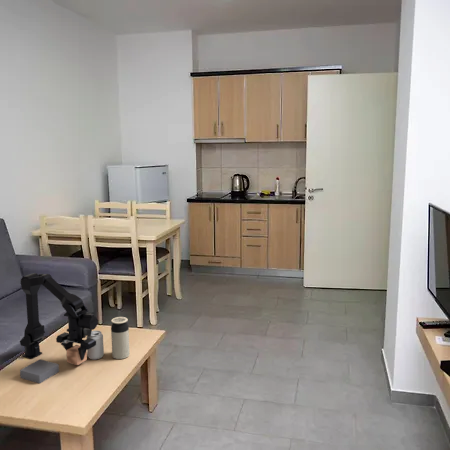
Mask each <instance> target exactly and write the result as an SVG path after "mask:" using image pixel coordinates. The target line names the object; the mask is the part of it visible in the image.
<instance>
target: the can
mask: <svg viewBox="0 0 450 450" xmlns="http://www.w3.org/2000/svg"><path fill="white" fill-rule="evenodd" d="M88 338H91V339H95V340H96V345H95V346H94V347H92V348H90V349H88V350H87V358H89V360H100V359H102V357H104V355H105V350H104V346H105V345H104V335H103V333H102V331H101V330H95V329H94V330H92V332H91V336H86V339H88Z"/></svg>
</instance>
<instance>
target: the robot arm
mask: <svg viewBox="0 0 450 450" xmlns="http://www.w3.org/2000/svg"><path fill="white" fill-rule="evenodd" d="M41 285H42V286H44V288H45V289H47V291H49V292H50V293H51V294H52V295H53V296H54V297H55V298H57V299H58V300H59V301H60V304H61V307H62V308H63V309H64V311H66V312H65V313H64V314H63V317H67V320H68V322H67V323H68V324H67V325H68V327H67V328H66V332H65V331H64V332H62V333H61V334H58V335H57V336H56V338H55V339H56V343H59V344H60V345H61V346H62V347H63V348H64V349H65V351H66V352H67V349H69V348H71V347H73V346H74V343H75V344H79V346H80V347H79V348H78V351H79V355H80V358H81V360H83V359H84V356H85V353H86V351H87V350H88V349H90V348H92V347H94V346H95V345H96V340H95V339H91V338H88V339H87V336H91V332H92V331H94V330H95V329H96V328H97V326H98V323H99V322H98V321H99V320H98V318H97V316H95V313H89V309H88V308H87V306H86V305H85V303H84V301H83V299H82V298H81V297H79V296H78V295H76V294H73V293H70V292H69V291H68V290H67V289H65V288H64V287H63V286H62V285H60V283H59V282H57V280H55V279H54V278H53V277H52V275H51V274H49V273H45V274H44V273H39V274H38V273H36V272H33V273H29V274H27V275H25V276H22V277H21V278H20V286H21V290H22V291H23V292H24V293H25V302H26V304H25V305H26V316H27V317H26V318H27V320H26V321H27V324H26V326H25V328H24V335H23V337H22V338H21V339H20V340H19V344H20V345H21V346H22V347H24V353H23V354H22V355H21V357H22V358H23V357H24V358H27V359H29V360H30V359H31V360H33V359H35V358H36V357H38V356H40V355H43V351H41V349H40V342H41V341H42V340H43V337H44V335H45V334H46V332H45V325H44V324H42V323H41V322H40V315H39V314H40V313H39V297H38V292H39V290H40V287H41ZM77 311H78V312H77ZM85 338H86V339H85Z"/></svg>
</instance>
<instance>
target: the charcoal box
mask: <svg viewBox="0 0 450 450" xmlns="http://www.w3.org/2000/svg"><path fill="white" fill-rule="evenodd" d="M59 365H60V364H59V363H56V362H51V361H48V360H44V359H42V358H41V359H38V360H36V361H34V362H31V364H29V365H27V366H25V367H22V368H21V369H20V370H19V374H20V377H19V378H20V379H23V380H26V381H30V382H33V383H36V384H42V383H43V382H45V381H47V380H48V379H49V378H51V377H53V376H55V375H56V374H58V373H60V366H59Z"/></svg>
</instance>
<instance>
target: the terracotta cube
mask: <svg viewBox="0 0 450 450" xmlns="http://www.w3.org/2000/svg"><path fill="white" fill-rule="evenodd" d="M79 347H80V344H79V345H78V344H75V345H73V347H71V348H69V349H67V351H66V362H67V363H69V364H72V365H75V366H79V365H81V364H82V363H84V362H86V361H87V360H88V356H87V351H86V353H85V356H84V359H83V360H81V358H80V355H79V351H78V348H79Z"/></svg>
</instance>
